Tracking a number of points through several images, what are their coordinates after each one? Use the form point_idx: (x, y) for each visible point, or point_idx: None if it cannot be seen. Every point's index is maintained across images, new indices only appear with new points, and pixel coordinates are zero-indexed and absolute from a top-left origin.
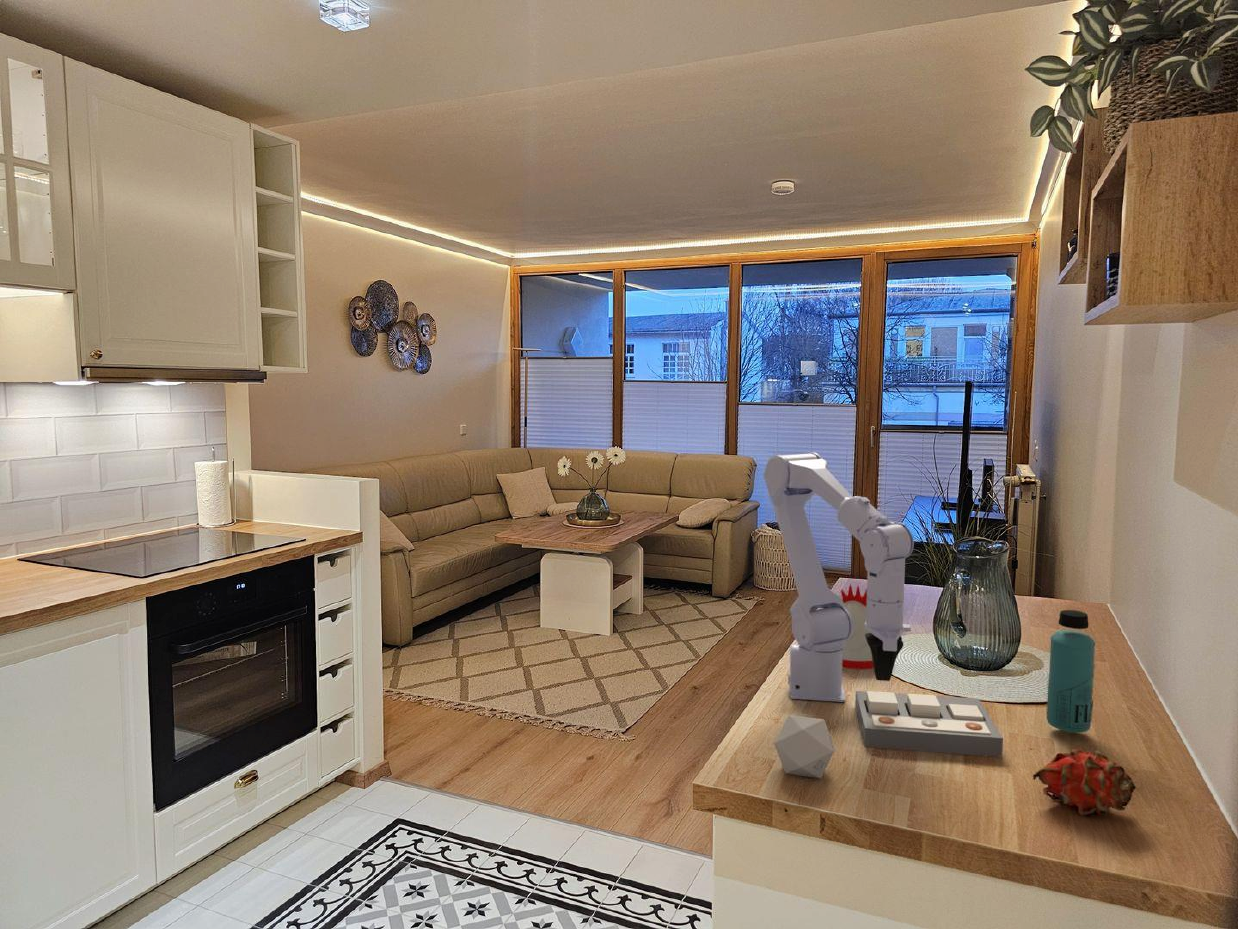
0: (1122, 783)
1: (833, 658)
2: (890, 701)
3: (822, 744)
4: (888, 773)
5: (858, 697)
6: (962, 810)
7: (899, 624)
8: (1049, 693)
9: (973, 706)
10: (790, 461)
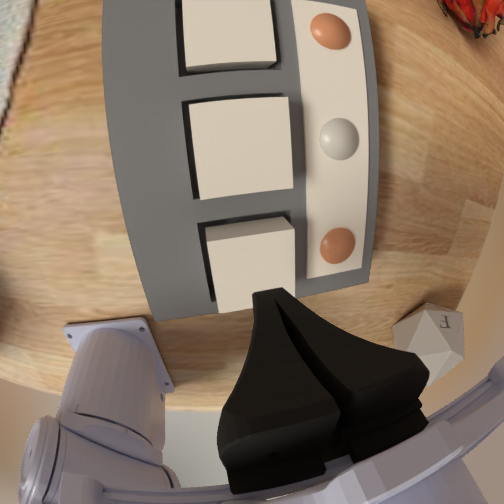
0: None
1: (133, 414)
2: (285, 250)
3: (463, 328)
4: (423, 223)
5: (197, 313)
6: (481, 140)
7: (472, 480)
8: None
9: (191, 2)
10: None
